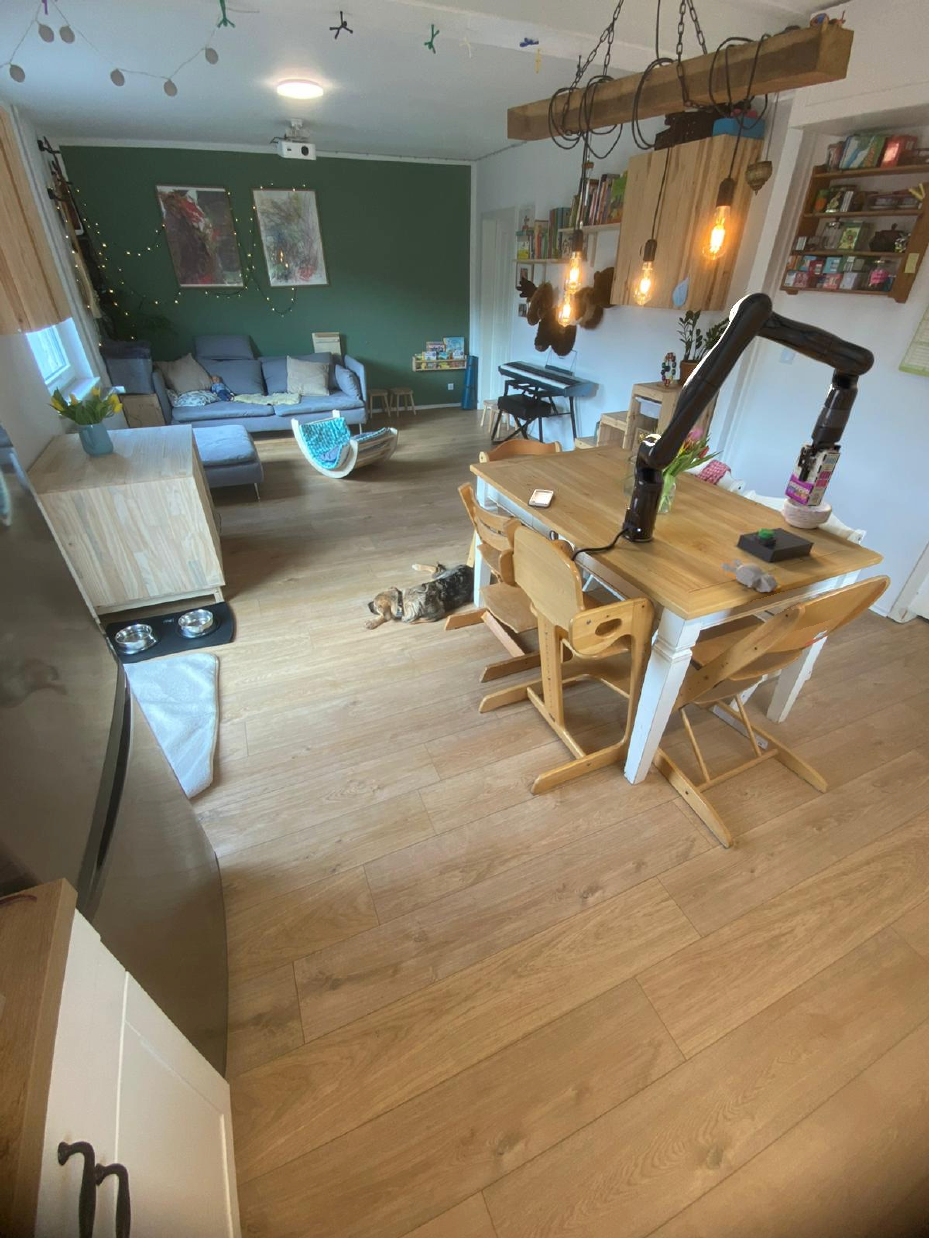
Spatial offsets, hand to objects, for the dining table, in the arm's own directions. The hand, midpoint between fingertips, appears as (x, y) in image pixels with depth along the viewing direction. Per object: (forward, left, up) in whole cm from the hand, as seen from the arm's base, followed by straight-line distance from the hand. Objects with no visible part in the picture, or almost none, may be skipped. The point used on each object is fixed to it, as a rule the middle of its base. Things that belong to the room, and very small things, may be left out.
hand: (809, 479), depth 164 cm
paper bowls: (+24, +13, -23) cm, 36 cm away
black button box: (-5, 0, -23) cm, 24 cm away
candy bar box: (0, 0, -7) cm, 7 cm away
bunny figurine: (-31, -14, -23) cm, 41 cm away
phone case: (-55, +66, -23) cm, 89 cm away
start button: (-11, 0, -18) cm, 21 cm away
